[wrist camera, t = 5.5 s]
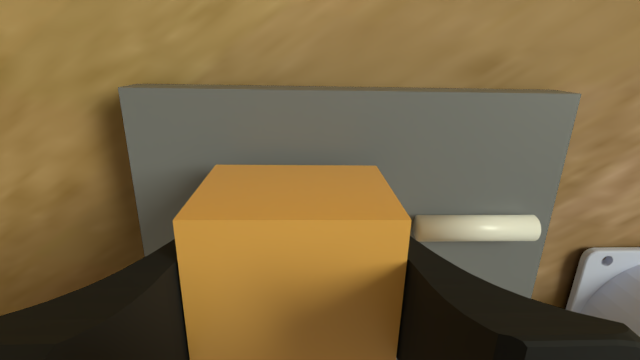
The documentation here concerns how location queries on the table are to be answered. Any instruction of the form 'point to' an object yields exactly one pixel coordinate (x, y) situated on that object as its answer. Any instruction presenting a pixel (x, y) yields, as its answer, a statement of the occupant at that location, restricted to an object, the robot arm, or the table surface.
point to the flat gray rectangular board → (370, 157)
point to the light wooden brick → (292, 263)
